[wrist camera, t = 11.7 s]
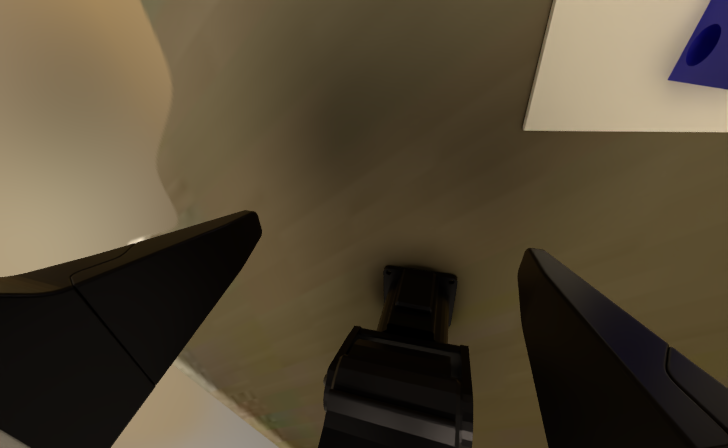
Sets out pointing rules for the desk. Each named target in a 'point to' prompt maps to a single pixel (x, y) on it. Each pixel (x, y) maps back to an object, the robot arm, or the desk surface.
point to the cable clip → (706, 50)
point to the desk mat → (621, 70)
